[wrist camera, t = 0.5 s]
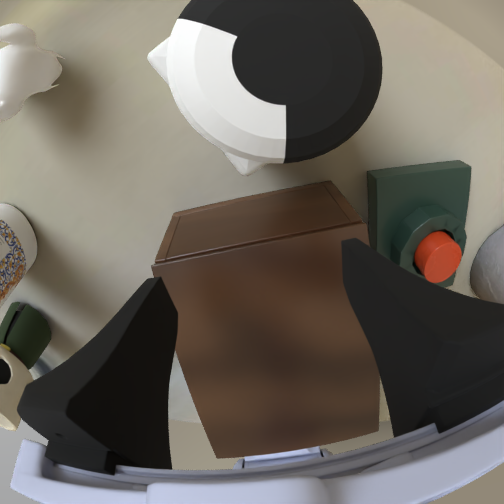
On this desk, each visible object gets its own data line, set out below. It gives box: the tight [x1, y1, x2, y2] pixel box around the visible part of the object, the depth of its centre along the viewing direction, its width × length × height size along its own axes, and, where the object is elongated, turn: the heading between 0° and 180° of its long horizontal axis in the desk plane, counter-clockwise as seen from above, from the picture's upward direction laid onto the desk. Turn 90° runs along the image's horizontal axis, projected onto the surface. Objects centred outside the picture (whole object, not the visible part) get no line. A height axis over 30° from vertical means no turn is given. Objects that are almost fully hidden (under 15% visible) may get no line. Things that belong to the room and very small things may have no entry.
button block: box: [367, 160, 471, 288], centre depth 21 cm, size 12×9×4 cm
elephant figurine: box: [0, 23, 65, 122], centre depth 12 cm, size 7×8×6 cm
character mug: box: [0, 302, 51, 431], centre depth 21 cm, size 11×7×13 cm, turn 76°
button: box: [414, 231, 462, 283], centre depth 20 cm, size 4×4×2 cm
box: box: [155, 181, 362, 263], centre depth 22 cm, size 13×11×6 cm
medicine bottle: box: [148, 0, 382, 176], centre depth 11 cm, size 7×7×12 cm
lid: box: [151, 222, 380, 458], centre depth 16 cm, size 14×11×1 cm
